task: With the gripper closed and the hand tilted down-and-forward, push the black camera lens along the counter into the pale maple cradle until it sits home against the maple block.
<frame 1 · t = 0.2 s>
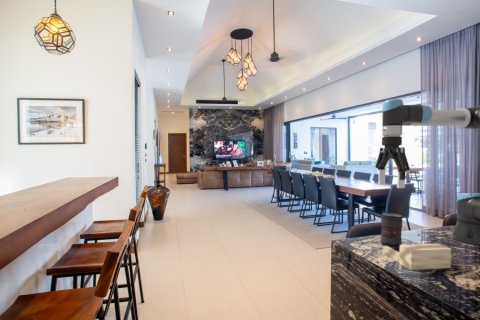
hand: (390, 186, 120), 28 cm above the kitchen island, tool pointing down, fingers open, 13 cm apart
cradle: (409, 258, 112), on the kitchen island
camera lens: (390, 249, 123), on the kitchen island
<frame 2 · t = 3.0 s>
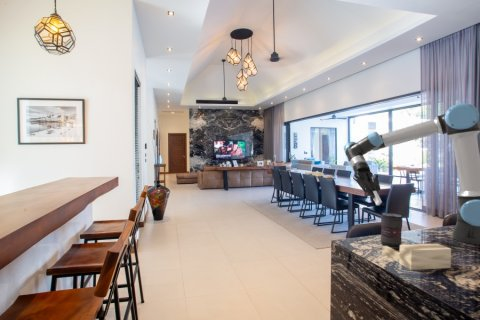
hand: (379, 203, 131), 18 cm above the kitchen island, tool tilted 45°, fingers closed
nothing on the kitchen island moved.
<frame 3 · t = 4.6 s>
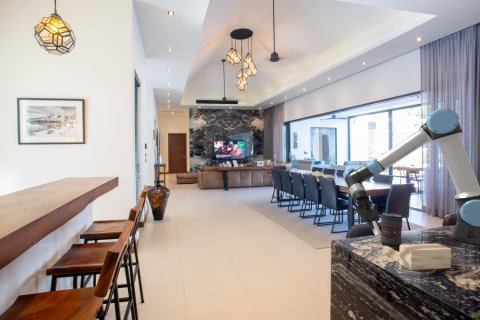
hand: (378, 234, 132), 4 cm above the kitchen island, tool tilted 45°, fingers closed
nothing on the kitchen island moved.
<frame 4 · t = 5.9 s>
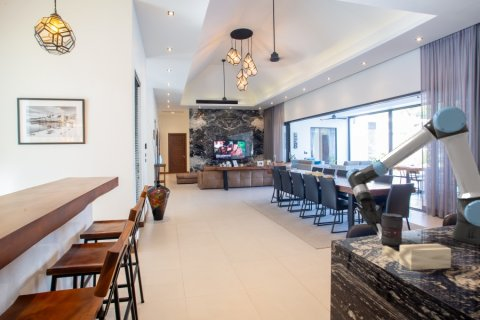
hand: (382, 237, 127), 3 cm above the kitchen island, tool tilted 45°, fingers closed
camera lens: (391, 249, 122), on the kitchen island, touching gripper
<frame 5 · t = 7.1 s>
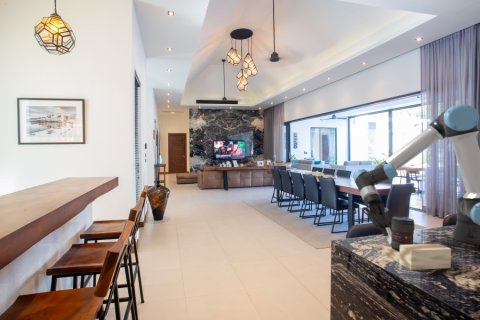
hand: (392, 242, 120), 3 cm above the kitchen island, tool tilted 45°, fingers closed
camera lens: (401, 255, 116), on the kitchen island, touching gripper
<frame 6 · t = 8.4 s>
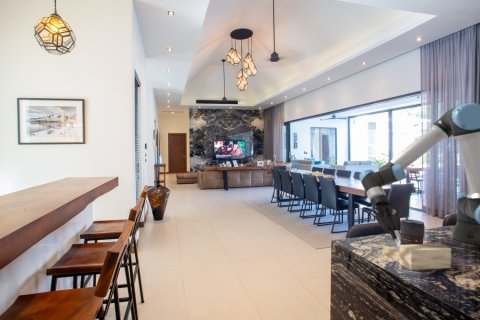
hand: (401, 246, 116), 3 cm above the kitchen island, tool tilted 45°, fingers closed
camera lens: (411, 259, 111), on the kitchen island, touching cradle, gripper
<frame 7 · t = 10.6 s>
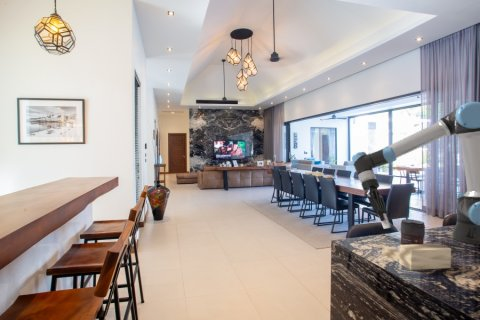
hand: (387, 227, 129), 8 cm above the kitchen island, tool tilted 30°, fingers closed
camera lens: (411, 259, 111), on the kitchen island
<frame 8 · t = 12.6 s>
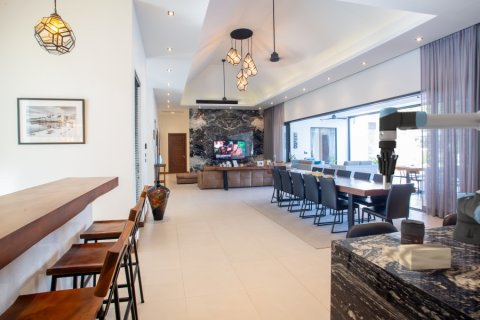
hand: (386, 189, 135), 24 cm above the kitchen island, tool pointing down, fingers closed
nothing on the kitchen island moved.
at the end: camera lens 1.1 cm off-centre on the cradle, point 0.0 cm above the cradle's base; camera lens tilted 0°; camera lens moved 11.6 cm from its start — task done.
